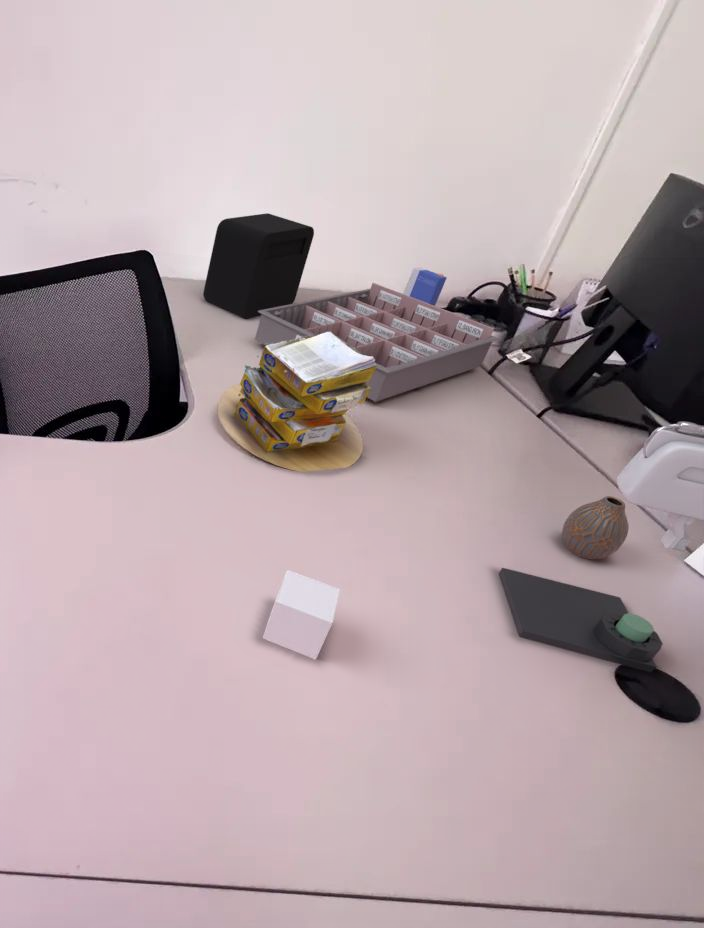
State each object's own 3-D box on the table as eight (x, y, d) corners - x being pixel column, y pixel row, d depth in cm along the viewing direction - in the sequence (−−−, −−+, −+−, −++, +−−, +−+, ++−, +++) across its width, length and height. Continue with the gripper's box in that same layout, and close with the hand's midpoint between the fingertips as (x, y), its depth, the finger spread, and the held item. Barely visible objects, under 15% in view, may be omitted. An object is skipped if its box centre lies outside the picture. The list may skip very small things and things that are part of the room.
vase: (583, 569, 92) (619, 519, 87) (542, 537, 98) (573, 488, 93) (620, 563, 94) (657, 514, 89) (578, 532, 99) (611, 484, 94)
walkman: (428, 323, 170) (447, 276, 163) (420, 324, 169) (440, 276, 162) (402, 311, 175) (420, 265, 168) (395, 312, 174) (413, 266, 167)
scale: (619, 604, 87) (632, 588, 85) (655, 674, 77) (671, 657, 75) (497, 574, 90) (508, 557, 88) (518, 637, 80) (530, 620, 78)
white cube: (323, 626, 79) (340, 589, 75) (315, 661, 74) (332, 623, 71) (272, 606, 81) (287, 569, 77) (261, 639, 76) (276, 601, 73)
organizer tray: (247, 345, 147) (259, 301, 141) (358, 319, 167) (372, 280, 161) (373, 411, 126) (393, 362, 121) (483, 372, 146) (504, 329, 141)
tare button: (639, 628, 80) (648, 617, 79) (649, 646, 77) (658, 635, 76) (611, 620, 80) (619, 610, 79) (620, 638, 78) (628, 628, 77)
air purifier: (248, 289, 179) (267, 210, 168) (293, 307, 170) (317, 225, 159) (197, 300, 168) (214, 217, 157) (242, 320, 159) (264, 234, 148)
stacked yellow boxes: (390, 469, 109) (431, 376, 100) (250, 476, 104) (280, 378, 94) (314, 397, 129) (343, 314, 119) (193, 399, 123) (213, 312, 114)
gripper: (677, 432, 63) (597, 544, 71) (941, 486, 59) (826, 598, 67) (651, 403, 68) (579, 511, 76) (893, 451, 64) (791, 559, 72)
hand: (696, 552), depth 72 cm, fingers open, 3 cm apart
